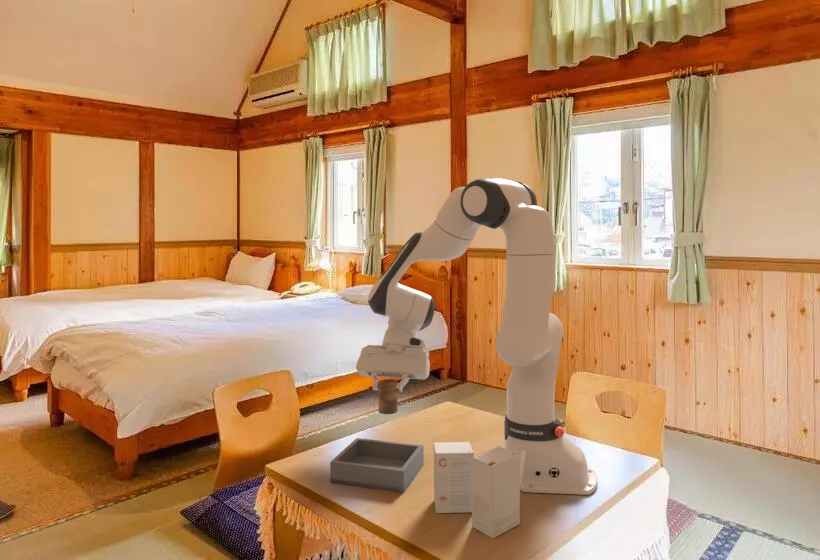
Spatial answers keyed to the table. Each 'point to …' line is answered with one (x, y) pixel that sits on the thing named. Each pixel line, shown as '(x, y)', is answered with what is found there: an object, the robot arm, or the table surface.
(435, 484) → the small box
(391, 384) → the walnut cylinder
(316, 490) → the table surface
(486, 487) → the skincare box
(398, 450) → the tote
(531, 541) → the table surface
